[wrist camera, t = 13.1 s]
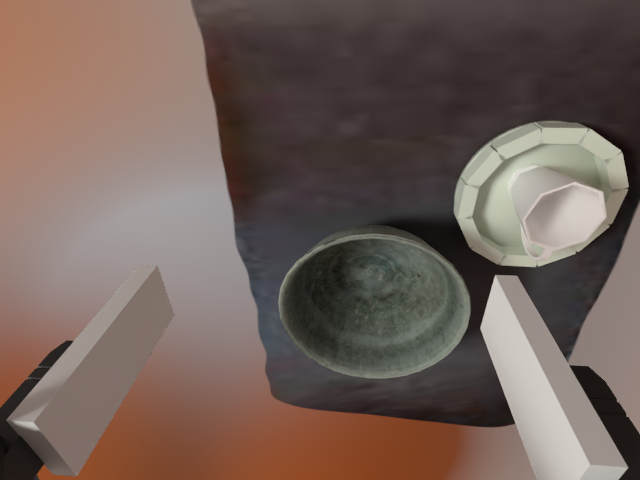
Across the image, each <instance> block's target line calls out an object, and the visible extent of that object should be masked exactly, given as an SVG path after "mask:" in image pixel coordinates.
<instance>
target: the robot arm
mask: <svg viewBox="0 0 640 480" xmlns="http://www.w3.org/2000/svg"><path fill="white" fill-rule="evenodd" d="M173 317H174V313H173V310H172V307H171V304H170V301H169V298H168V296H167V293H166V289H165V287H164V283H163V281H162V278H161V275H160V272H159V269H158V266H157V265H139V266H138V267H137V268H136V269H135V271H134V272H133V273H132V274H131V276H129V278H128V279H127V280H126V281H125V282H124V283H123V285H122V286H121V287H120V288H119V289H118V290H117V292H116V293H115V294H114V295H113V296H112V298H111V299H110V300H109V301H108V302H107V303H106V304H105V306H104V307H103V308H102V309H101V310H100V311H99V313H98V314H97V315H96V316H95V317H94V318H93V320H92V321H91V322H90V323H89V324H88V325H87V327H86V328H85V329H84V330H83V331H82V332H81V334H80V335H79V336H78V337H77V338H76V339H75V341H65V342H64V343H63V344H61V345H60V346H58V347H57V348H56V349H54V350H53V351H51V352H50V353H49V354H48V356H47V357H46V358H45V359H44V360H43V361H42V362H41V363H40V364H39V366H38V368H37V369H35V370H34V371H33V372H32V373H31V375H29V377H28V380H25V381H24V382H23V383H22V384H21V386H20V387H19V388H18V389H17V390H16V391H15V392H14V393H13V394H12V395H11V397H10V398H9V399H8V400H7V401H6V402H5V403H4V404H3V405H2V407H1V408H0V480H39V478H38V476H37V473H38V472H39V470H40V469H41V467H42V466H43V465H45V466H46V467H47V468H48V469H49V470H50V472H51V473H52V474H55V475H56V474H57V475H67V476H77V475H78V474H79V472H80V470H81V469H82V467H83V465H84V464H85V462H86V461H87V459H88V457H89V456H90V454H91V452H92V451H93V449H94V447H95V446H96V444H97V442H98V441H99V439H100V437H101V436H102V434H103V432H104V431H105V429H106V427H107V426H108V424H109V423H110V421H111V419H112V417H113V416H114V414H115V413H116V411H117V409H118V408H119V406H120V404H121V403H122V401H123V399H124V398H125V396H126V394H127V393H128V391H129V389H130V387H131V386H132V384H133V383H134V381H135V379H136V378H137V376H138V374H139V373H140V371H141V370H142V368H143V366H144V365H145V363H146V361H147V360H148V358H149V356H150V355H151V353H152V351H153V350H154V348H155V346H156V345H157V343H158V342H159V340H160V338H161V337H162V335H163V333H164V332H165V330H166V328H167V327H168V325H169V323H170V322H171V320H172V318H173ZM480 329H481V332H482V334H483V337H484V340H485V343H486V345H487V348H488V351H489V353H490V356H491V359H492V361H493V364H494V367H495V369H496V372H497V375H498V378H499V380H500V383H501V386H502V388H503V391H504V394H505V396H506V399H507V402H508V404H509V407H510V410H511V413H512V415H513V418H514V421H515V423H516V426H517V429H518V431H519V434H520V437H521V439H522V442H523V445H524V448H525V450H526V453H527V456H528V458H529V461H530V464H531V466H532V469H533V472H534V474H535V477H536V480H640V434H639V432H638V431H637V429H636V428H635V426H634V425H633V423H632V422H631V420H630V419H629V417H626V413H625V411H624V410H623V408H622V406H621V405H620V404H619V403H618V402H617V399H616V397H615V396H614V394H613V393H612V391H611V390H610V388H609V387H608V385H607V384H606V382H605V381H604V380H603V379H602V378H601V377H599V376H598V375H597V374H596V373H595V372H594V371H593V370H592V369H591V368H589V367H588V366H571V365H568V363H567V361H566V359H565V358H564V356H563V354H562V352H561V351H560V349H559V347H558V346H557V344H556V342H555V340H554V339H553V337H552V335H551V334H550V332H549V330H548V328H547V327H546V325H545V323H544V321H543V320H542V318H541V316H540V315H539V313H538V311H537V309H536V308H535V306H534V304H533V303H532V301H531V299H530V297H529V296H528V294H527V292H526V290H525V289H524V287H523V285H522V284H521V282H520V280H519V278H518V277H517V276H510V275H495V277H494V281H493V285H492V288H491V292H490V295H489V299H488V302H487V306H486V309H485V313H484V317H483V320H482V324H481V327H480Z"/></svg>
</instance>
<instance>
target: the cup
mask: <svg viewBox="0 0 640 480" xmlns="http://www.w3.org/2000/svg"><path fill="white" fill-rule="evenodd" d="M508 188H509V191H510V195H511V197H512V199H513V203H514V206H515V210H516V213H517V216H518V218H519V221H520V225H521V237H522V242H523V246H524V248H525V251H526V253H527V254H528V255H529V256H530V257H531V258H532V259H534V260H535V261H539V260H548V259H549V258H550V256H551V254H552V252H553V251H557V250H560V249H563V248H566V247H569V246H573V245H576V244H579V243H582V242H585V241H587V240H588V238H589V237H590V236H591V235H592V234H593V233H594V232H595V230H596V229H597V228H598V227H599V226H600V225H601V223H602V222H603V221H604V220H605V219H606V218H607V214H606V207H605V201H604V194H603V191H600V190H598V189H596V188H594V187H592V186H589V185H587V184H584V183H582V182H580V181H578V180H576V179H574V178H571V177H569V176H567V175H564V174H561V173H558V172H555V171H552V170H549V169H548V168H545V167H542V166H539V165H537V164H534V163H533V164H530V165H528V166H525V167H523V168H520V169H518V170H516V171H515V173H514V174H513V176H512V177H511V179H510V181H509V182H508ZM532 244H534V245H537V246H540V247H543V248H542V254H541V255H539V254H537V253H536V251H535V250H534V249H533V246H532Z"/></svg>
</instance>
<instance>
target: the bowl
mask: <svg viewBox="0 0 640 480" xmlns="http://www.w3.org/2000/svg"><path fill="white" fill-rule="evenodd" d="M278 303H279V311H280V317H281V320H282V322H283V325H284V328H285V330H286V332H287V334H288V335H289V337H290V338H291V340H292V341H293V342H294V344H295V345H296V346H297V347H298V348H299V349H300V350H301V351H302V352H303V353H304V354H305V355H306V356H308V357H309V358H311V359H312V360H314V361H315V362H317V363H318V364H320V365H322V366H325V367H327V368H329V369H331V370H333V371H336V372H340V373H343V374H347V375H351V376H357V377H364V378H392V377H399V376H405V375H409V374H412V373H415V372H418V371H421V370H423V369H425V368H427V367H429V366H431V365H434V364H436V363H437V362H438V361H440V360H441V359H443V358H444V357H446V356H447V355H448V354H450V352H451V351H452V350H453V349H454V348H455V347H456V346H457V345H458V343H459V342H460V341H461V339H462V337H463V335H464V333H465V331H466V329H467V327H468V322H469V318H470V314H471V302H470V294H469V292H468V289H467V287H466V284H465V282H464V279H463V278H462V276H461V275H460V274H459V272H458V271H457V270H456V268H455V267H454V266H453V264H452V263H450V262H449V261H448V260H447V259H445V258H444V257H443V256H442V255H441V254H440V253H438V252H437V251H436V250H435V249H433V248H432V247H431V246H430V245H428V244H427V243H426V242H425V241H423V240H422V239H420V238H419V237H417V236H415V235H413V234H411V233H409V232H407V231H404V230H400V229H397V228H393V227H390V226H382V225H362V226H355V227H351V228H348V229H344V230H340V231H338V232H336V233H334V234H332V235H330V236H328V237H326V238H324V239H323V240H322V241H320V242H319V243H318V244H316V245H315V246H314V247H312V248H311V249H310V250H309V251H308V252H307V253H306V254H305V255H304V256H303V257H302V258H301V259H299V260H298V261H297V262H296V263H295V264H294V266H293V267H292V268H291V269H290V271H289V272H288V273H287V275H286V277H285V279H284V281H283V283H282V286H281V288H280V294H279V302H278Z"/></svg>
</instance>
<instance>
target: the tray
mask: <svg viewBox="0 0 640 480" xmlns="http://www.w3.org/2000/svg"><path fill="white" fill-rule="evenodd" d="M533 163H534V164H537V165H539V166H542V167H545V168H548V169H549V170H552V171H555V172H558V173H561V174H564V175H567V176H569V177H571V178H574V179H576V180H578V181H580V182H582V183H584V184H587V185H589V186H592V187H594V188H596V189H598V190H600V191H603V194H604V201H605V207H606V214H607V218H606V219H605V220H604V221H603V222H602V223H601V225H600V226H599V227H598V228H597V229H596V230H595V232H594V233H593V234H592V235H591V236H590V237H589V238H588V240H587V241H585V242H582V243H579V244H576V245H573V246H569V247H566V248H563V249H560V250H557V251H553V252H552V254H551V256H550V258H549V259H548V260H539V261H535V260H534V259H532V258H531V257H530V256H529V255H528V254H527V253H526V251H525V248H524V246H523V242H522V237H521V225H520V221H519V218H518V216H517V213H516V210H515V206H514V203H513V199H512V197H511V195H510V191H509V188H508V182H509V181H510V179H511V177H512V176H513V174H514V173H515V171H516V170H518V169H520V168H523V167H525V166H528V165H530V164H533ZM627 187H629V185H628V179H627V174H626V168H625V163H624V157H623V153H622V152H621V150H620V149H618V148H617V147H615V146H614V145H613V144H611V143H610V142H608V141H607V140H606V139H604V138H603V137H601V136H600V135H599V134H597V133H596V132H594V131H593V130H592V129H590V128H588V127H586V126H584V125H582V124H579V123H570V122H566V121H559V120H540V121H534V122H529V123H525V124H522V125H518V126H516V127H513V128H511V129H508V130H506V131H505V132H503V133H501V134H499V135H497V136H496V137H494V138H493V139H491V140H490V141H488V142H487V143H486V144H485V145H484V146H482V147H481V148H480V149H479V150H478V151H477V152H476V153H475V154H474V155H473V156H472V158H471V159H470V160H469V161H468V163H467V164H466V166H465V167H464V169H463V171H462V172H461V174H460V177H459V179H458V181H457V185H456V188H455V193H454V214H455V217H456V219H457V221H458V223H459V225H460V228H461V230H462V232H463V234H464V237H465V239H466V241H467V243H468V245H469V247H470V248H471V250H473V251H475V252H477V253H478V254H480V255H482V256H484V257H485V258H487V259H489V260H490V261H492V262H494V263H496V264H497V265H498V264H500V265H503V266H525V267H536V265H538V267H539V266H542V265H544V264H547V263H550V262H553V261H556V260H559V259H562V258H565V257H568V256H571V255H574V254H576V252H575V251H577V252H579V251H581V250H582V249H583V248H584V247H586V246H587V245H588V244H589V243H590V242H592V241H593V240H594V239H595V238H596V237H598V236H599V235H600V234H601V233H603V232H604V231H605V230H606V229H607V228H609V227H610V226H609V225H608V224H612V223H613V221H614V219H615V217H616V214H617V212H618V210H619V208H620V206H621V204H622V202H623V200H624V198H625V196H626V194H627V191H628V189H627ZM532 246H533V249H534V250H535V251H536V253H537V254H539V255H541V254H542V248H543V247H540V246H537V245H534V244H532Z"/></svg>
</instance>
